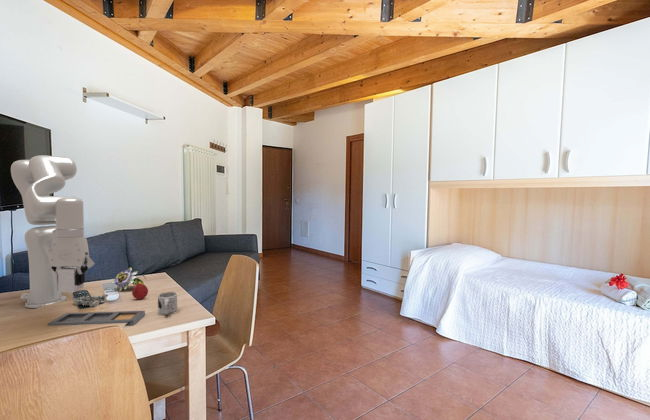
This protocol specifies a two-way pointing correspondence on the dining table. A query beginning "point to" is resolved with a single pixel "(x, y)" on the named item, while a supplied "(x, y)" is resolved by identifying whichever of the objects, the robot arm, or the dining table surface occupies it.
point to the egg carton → (88, 300)
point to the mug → (167, 303)
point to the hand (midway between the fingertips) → (71, 283)
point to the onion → (140, 291)
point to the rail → (99, 318)
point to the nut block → (68, 280)
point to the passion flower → (126, 279)
